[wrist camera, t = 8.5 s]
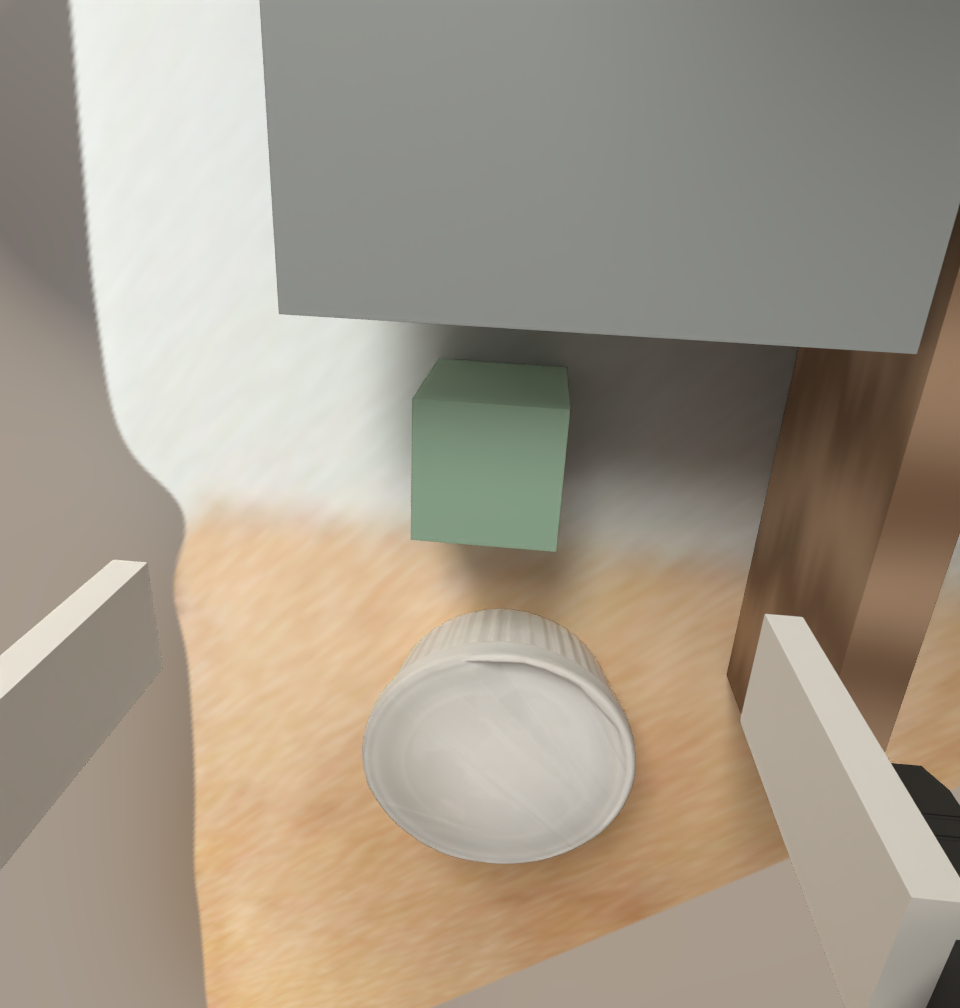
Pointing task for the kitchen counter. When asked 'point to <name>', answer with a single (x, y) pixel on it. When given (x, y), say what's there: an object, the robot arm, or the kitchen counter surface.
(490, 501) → the block
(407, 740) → the ramekin
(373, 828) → the kitchen counter surface
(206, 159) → the kitchen counter surface
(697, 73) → the lid
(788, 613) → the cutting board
